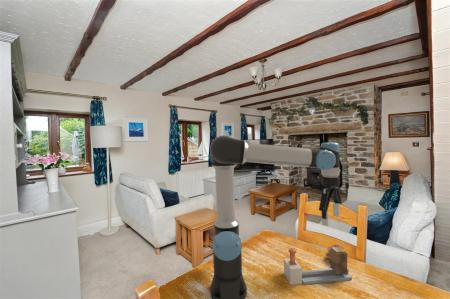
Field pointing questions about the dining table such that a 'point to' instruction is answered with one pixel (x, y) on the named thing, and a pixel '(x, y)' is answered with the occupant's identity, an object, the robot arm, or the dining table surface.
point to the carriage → (338, 260)
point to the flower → (331, 247)
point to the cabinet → (293, 272)
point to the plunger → (292, 255)
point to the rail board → (323, 276)
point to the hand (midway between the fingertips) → (331, 220)
